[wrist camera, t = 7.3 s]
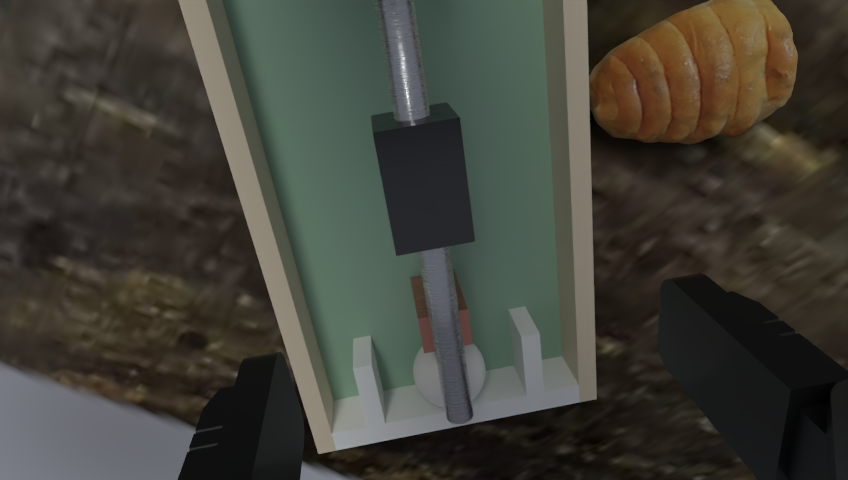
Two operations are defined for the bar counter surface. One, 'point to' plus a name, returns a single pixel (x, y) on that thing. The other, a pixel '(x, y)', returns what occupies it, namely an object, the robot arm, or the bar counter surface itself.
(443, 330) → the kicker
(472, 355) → the ball
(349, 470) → the bar counter surface
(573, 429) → the bar counter surface
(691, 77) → the pastry
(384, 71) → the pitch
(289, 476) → the robot arm
